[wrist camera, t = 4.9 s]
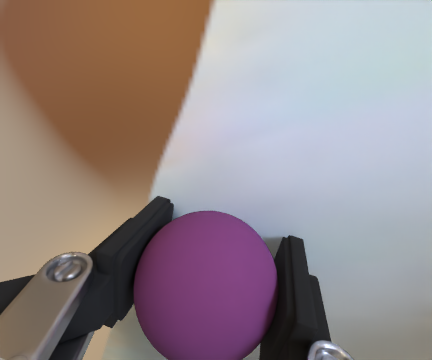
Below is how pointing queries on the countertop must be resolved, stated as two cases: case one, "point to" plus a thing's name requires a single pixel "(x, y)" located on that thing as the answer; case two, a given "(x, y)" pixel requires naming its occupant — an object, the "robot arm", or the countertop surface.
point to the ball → (206, 288)
